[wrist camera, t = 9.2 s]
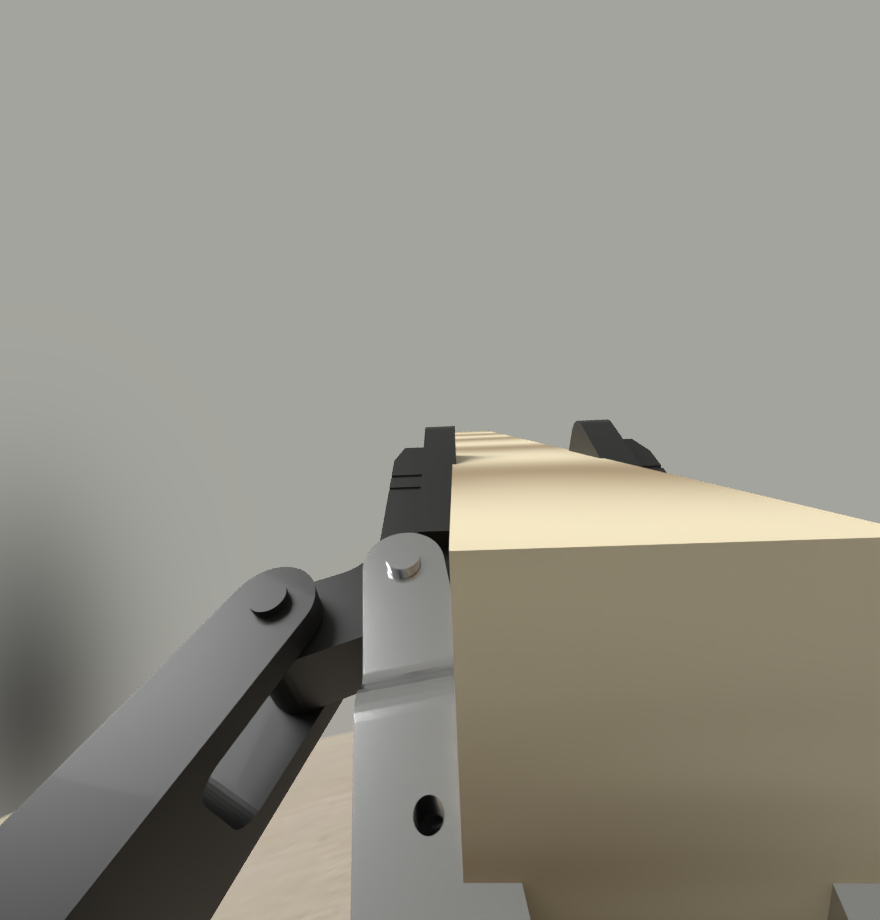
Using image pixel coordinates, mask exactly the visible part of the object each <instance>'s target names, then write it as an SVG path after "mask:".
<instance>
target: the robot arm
mask: <svg viewBox="0 0 880 920" xmlns="http://www.w3.org/2000/svg"><path fill="white" fill-rule="evenodd" d="M569 451H572V452H576V453H580V454H584V455H588V456H592V457H596V458H605V459H609V460H613V461H618V462H622V463H626V464H630V465H634V466H639V467H643V468H647V469H651V470H655V471H660V472H664V473H666V471H665V470H664V469H663V468H661V465H660V463H659V462H658V461H657V459H656V458H655V457H654V455H653V454H652V453H651V451H649V450H648V449H646V448H645V447H643V446H642V445H640V444H639V443H637V442H636V441H634V440H633V439H622V437H621V436H620V434H619V433H618V431H617V430H616V428H615V427H614V426H613V424H612V423H611V421H609V420H587V421H576V422H575V423H574V426H573V429H572V435H571V441H570V448H569ZM452 464H456V445H455V426H449V427H448V426H447V427H426V429H425V440H424V448H405V449H404V450H403V451H402V453H401V454H400V455H399V456H398V457H397V459H396V460H395V461H394V466H393V472H392V479H391V483H390V491H389V494H388V501H387V506H386V511H385V517H384V523H383V528H382V534H381V539H380V542H378V543H377V544H376V545H374V546H373V547H372V548H371V550H370V551H369V552H368V554H367V556H366V557H365V560H364V563H363V564H361V565H359V566H358V567H356V568H354V569H352V570H350V571H347V572H345V573H342V574H339V575H335V576H332V577H329V578H325V579H322V580H319V581H316V582H313V580H312V578H311V577H310V576H309V575H308V574H307V573H306V572H304V571H302V570H300V569H297V568H292V567H280V568H274V569H271V570H267V571H265V572H262V573H260V574H258V575H256V576H255V577H253V578H251V579H250V580H248V581H247V582H246V583H244V584H243V585H242V586H241V587H240V588H239V589H238V590H237V591H236V592H235V593H234V594H233V595H232V596H231V597H230V598H229V599H228V600H227V601H226V602H225V603H224V604H223V605H222V606H221V607H220V608H219V609H218V610H217V611H216V612H215V613H214V614H213V615H212V616H211V617H210V618H209V619H208V620H207V621H206V622H205V623H204V624H203V625H202V626H201V627H200V628H199V629H198V630H196V632H194V634H192V635H191V636H190V638H189V639H188V640H186V642H185V643H183V644H182V645H181V646H180V647H179V648H178V649H177V650H176V651H175V652H174V653H173V654H172V655H171V656H170V657H169V658H168V659H167V661H165V662H164V663H163V664H162V665H161V666H160V667H159V668H158V669H157V670H156V671H155V672H154V673H153V674H152V675H151V676H150V677H149V678H148V679H147V680H146V681H145V682H144V683H143V684H142V685H141V686H140V687H139V688H138V689H137V690H136V691H135V692H134V693H133V694H132V696H130V697H129V698H128V699H127V700H126V701H125V702H124V703H123V704H122V705H121V706H120V707H119V708H118V709H117V710H116V711H115V712H114V713H113V714H112V715H111V716H110V717H109V718H108V719H107V720H106V721H105V722H104V723H103V724H102V725H101V726H100V727H99V728H98V729H97V730H96V731H95V732H94V733H93V734H92V735H91V736H90V737H89V738H88V739H87V740H86V741H85V742H84V743H83V744H82V745H81V746H80V747H79V748H78V749H77V750H76V751H75V752H74V753H73V754H72V755H71V756H70V757H69V758H68V759H67V760H66V761H65V762H64V763H63V764H62V765H61V766H60V767H59V768H58V769H57V770H56V771H55V772H54V773H53V774H52V775H51V776H50V777H49V778H48V779H47V780H46V781H45V782H44V783H43V784H42V785H41V786H40V787H39V788H38V789H37V790H36V791H35V792H34V793H33V794H32V795H31V796H30V797H29V798H28V799H27V800H26V801H25V802H24V803H23V804H22V805H21V806H20V807H19V808H18V809H17V810H16V811H15V812H14V813H12V814H11V815H10V816H9V817H8V818H7V819H6V820H5V821H4V822H3V823H2V824H1V825H0V920H210V919H211V918H212V916H213V915H214V913H215V911H216V910H217V908H218V906H219V905H220V903H221V901H222V900H223V898H224V896H225V895H226V893H227V891H228V890H229V888H230V886H231V885H232V883H233V881H234V880H235V878H236V876H237V875H238V873H239V871H240V870H241V868H242V866H243V865H244V863H245V861H246V860H247V858H248V856H249V855H250V853H251V851H252V850H253V848H254V846H255V845H256V843H257V841H258V840H259V838H260V836H261V835H262V833H263V831H264V830H265V828H266V827H267V825H268V823H269V822H270V820H271V818H272V817H273V815H274V813H275V812H276V810H277V808H278V807H279V805H280V803H281V802H282V800H283V798H284V797H285V795H286V793H287V792H288V790H289V788H290V787H291V785H292V783H293V782H294V780H295V778H296V777H297V775H298V773H299V772H300V770H301V768H302V767H303V765H304V763H305V762H306V760H307V758H308V757H309V755H310V753H311V752H312V750H313V748H314V747H315V745H316V743H317V742H318V740H319V739H320V737H321V735H322V733H323V732H324V730H325V728H326V727H327V725H328V723H329V722H330V720H331V719H332V717H333V715H334V714H335V712H336V710H337V709H338V707H339V705H340V704H341V702H342V700H343V699H344V698H346V697H349V696H351V695H354V694H356V699H355V708H354V744H353V807H352V870H351V920H530V915H529V911H528V907H527V902H526V898H525V893H524V889H523V885H522V883H463V863H462V840H461V817H460V794H459V772H458V749H457V726H456V703H455V680H454V657H453V634H452V611H451V588H450V565H449V536H450V512H451V488H452ZM827 920H880V884H838V883H833V886H832V892H831V899H830V906H829V912H828V919H827Z"/></svg>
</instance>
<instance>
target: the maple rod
mask: <svg viewBox="0 0 880 920" xmlns="http://www.w3.org/2000/svg"><path fill="white" fill-rule="evenodd" d="M455 445H456V464H452V488H451V512H450V536H449V565H450V588H451V611H452V634H453V657H454V680H455V703H456V726H457V749H458V772H459V794H460V817H461V840H462V863H463V883H522V885H523V889H524V893H525V898H526V902H527V907H528V911H529V915H530V920H827V919H828V912H829V906H830V899H831V892H832V886H833V883H838V884H880V524H879V523H874V522H870V521H866V520H862V519H858V518H853V517H849V516H845V515H841V514H837V513H832V512H828V511H824V510H820V509H816V508H811V507H807V506H803V505H799V504H794V503H790V502H786V501H781V500H777V499H773V498H769V497H765V496H761V495H757V494H752V493H748V492H744V491H739V490H736V489H731V488H727V487H723V486H719V485H714V484H710V483H706V482H702V481H697V480H693V479H689V478H685V477H681V476H677V475H672V474H668V473H664V472H660V471H655V470H651V469H647V468H643V467H639V466H634V465H630V464H626V463H622V462H618V461H613V460H609V459H605V458H596V457H592V456H588V455H584V454H580V453H576V452H572V451H569V450H567V449H563V448H558V447H554V446H550V445H546V444H542V443H537V442H533V441H529V440H524V439H520V438H516V437H512V436H508V435H504V434H499V433H495V432H491V431H475V432H455Z"/></svg>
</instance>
